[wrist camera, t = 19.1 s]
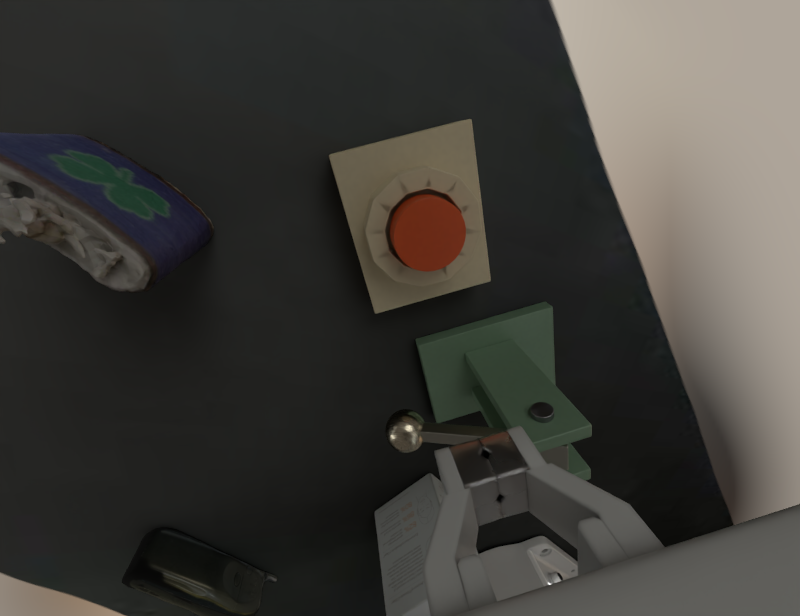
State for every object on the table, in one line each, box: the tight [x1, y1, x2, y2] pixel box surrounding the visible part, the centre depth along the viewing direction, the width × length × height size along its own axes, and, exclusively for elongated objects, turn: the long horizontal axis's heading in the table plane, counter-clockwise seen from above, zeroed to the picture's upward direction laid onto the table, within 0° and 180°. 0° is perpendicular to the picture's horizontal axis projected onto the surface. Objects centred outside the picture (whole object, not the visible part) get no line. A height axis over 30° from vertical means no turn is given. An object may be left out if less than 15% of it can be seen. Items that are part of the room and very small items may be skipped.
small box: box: [375, 473, 479, 616], centre depth 35 cm, size 8×6×10 cm
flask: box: [0, 133, 214, 293], centre depth 18 cm, size 9×3×11 cm, turn 48°
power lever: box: [385, 409, 569, 470], centre depth 26 cm, size 13×3×3 cm, turn 103°
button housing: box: [329, 119, 491, 314], centre depth 24 cm, size 11×9×4 cm
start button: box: [390, 194, 466, 272], centre depth 22 cm, size 4×4×2 cm
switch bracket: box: [415, 302, 592, 480], centre depth 28 cm, size 12×9×12 cm
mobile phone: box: [122, 528, 277, 616], centre depth 35 cm, size 5×3×15 cm
